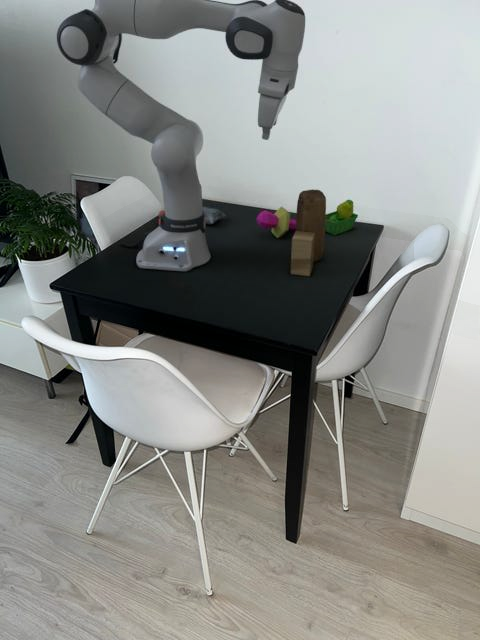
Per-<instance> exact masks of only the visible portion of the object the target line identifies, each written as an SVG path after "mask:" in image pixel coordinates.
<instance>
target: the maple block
mask: <svg viewBox="0 0 480 640" xmlns="http://www.w3.org/2000/svg"><path fill="white" fill-rule="evenodd" d="M314 241H315V233H310V232H300V231H296V230H295V232H294V234H293V236H292V238H291V255H290V275H295V276H302V277H303V276H304V277H310V276H311V274H312V271H313V268H314V262H313V256H314Z"/></svg>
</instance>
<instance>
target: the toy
mask: <svg viewBox="0 0 480 640" xmlns="http://www.w3.org/2000/svg"><path fill="white" fill-rule="evenodd" d="M256 223H257V225H258V226H259V227H260V228H261V229H263V230H265V229H266V230H267V229H271V232H270V233H272V234H273V236H275V238H277V239H278V238H279V239H280V238H282V237H283V236H284V235H285V234H286V233H287V232H288V231H296V219H293V218H291V213H290V212H289V211H288V210H287V209H286V208H285V207H283V206H280V207H279V208H278V209H277V210H276V211H275V212H274V213H272V212H270V211H269V210H266V209H265V210H262V211H260V212H259V214H258V215H257V216H256Z"/></svg>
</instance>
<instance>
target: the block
mask: <svg viewBox="0 0 480 640" xmlns="http://www.w3.org/2000/svg"><path fill="white" fill-rule="evenodd" d="M296 202H297V204H296V216H295V217H296V218H295V220H296V230H295V232H296V231H300V232H310V233H315V241H314V256H313V263H316V262H317V261H319V260H320V261H321V259H322V258H323V253H324V248H325V236H326V235H325V234H326V231H325V222H326V214H327V196H326V195H325V194H324V192H323V191H322V190H320V189H306V190H302V191H301V192H300V193H299V194H298V199H297V201H296Z"/></svg>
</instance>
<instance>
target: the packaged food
mask: <svg viewBox="0 0 480 640" xmlns="http://www.w3.org/2000/svg"><path fill="white" fill-rule="evenodd" d="M203 212H204V215H205V225H213V224H215V223H216V222H218V221H221V220H222V219H223V218H224V217H226V214H225V212H223V211H222V210H220V209H218V208H214V207H213V208H212V207H208V206H203Z"/></svg>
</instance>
